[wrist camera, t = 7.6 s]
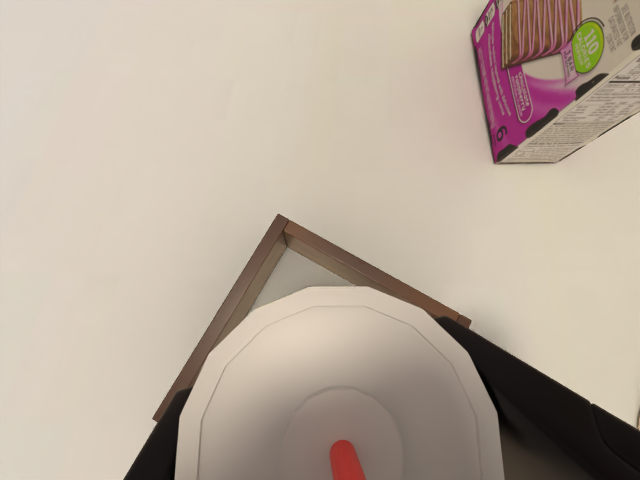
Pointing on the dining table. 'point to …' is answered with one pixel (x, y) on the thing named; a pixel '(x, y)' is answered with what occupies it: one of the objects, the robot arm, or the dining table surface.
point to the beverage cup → (339, 397)
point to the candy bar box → (556, 73)
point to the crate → (258, 273)
